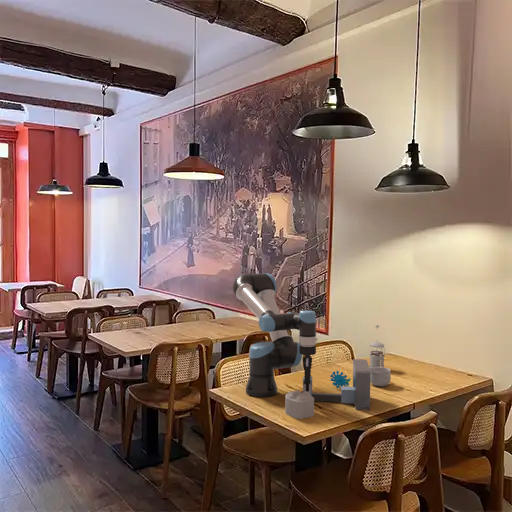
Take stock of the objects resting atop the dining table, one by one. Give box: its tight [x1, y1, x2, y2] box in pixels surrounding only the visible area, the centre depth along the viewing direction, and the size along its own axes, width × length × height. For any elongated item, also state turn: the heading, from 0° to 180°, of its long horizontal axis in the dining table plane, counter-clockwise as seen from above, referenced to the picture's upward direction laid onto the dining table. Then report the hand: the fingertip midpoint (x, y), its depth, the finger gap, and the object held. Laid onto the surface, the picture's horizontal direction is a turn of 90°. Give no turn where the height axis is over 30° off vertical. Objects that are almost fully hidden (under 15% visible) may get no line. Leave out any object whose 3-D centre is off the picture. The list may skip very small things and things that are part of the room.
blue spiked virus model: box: [329, 370, 352, 390], centre depth 245 cm, size 11×6×10 cm
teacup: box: [370, 366, 392, 387], centre depth 250 cm, size 14×11×8 cm
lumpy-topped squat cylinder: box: [284, 390, 315, 420], centre depth 208 cm, size 10×13×9 cm
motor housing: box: [352, 358, 371, 411], centre depth 222 cm, size 6×20×17 cm, turn 172°
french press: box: [369, 324, 386, 368], centre depth 279 cm, size 10×12×25 cm
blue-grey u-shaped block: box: [302, 376, 355, 405], centre depth 223 cm, size 24×5×10 cm, turn 82°
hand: (307, 395), depth 224 cm, fingers closed on blue-grey u-shaped block, 5 cm apart
